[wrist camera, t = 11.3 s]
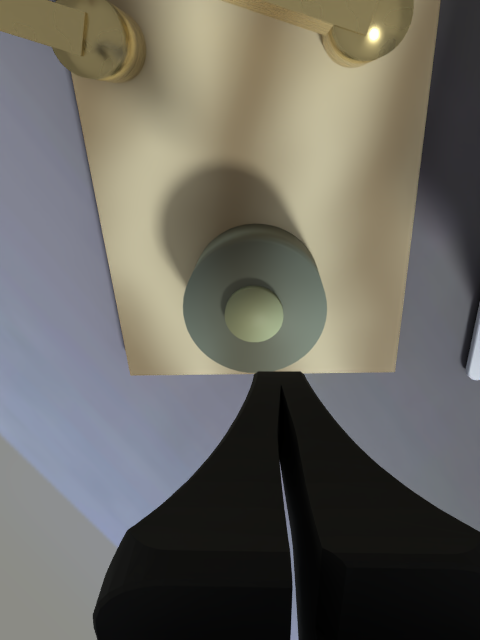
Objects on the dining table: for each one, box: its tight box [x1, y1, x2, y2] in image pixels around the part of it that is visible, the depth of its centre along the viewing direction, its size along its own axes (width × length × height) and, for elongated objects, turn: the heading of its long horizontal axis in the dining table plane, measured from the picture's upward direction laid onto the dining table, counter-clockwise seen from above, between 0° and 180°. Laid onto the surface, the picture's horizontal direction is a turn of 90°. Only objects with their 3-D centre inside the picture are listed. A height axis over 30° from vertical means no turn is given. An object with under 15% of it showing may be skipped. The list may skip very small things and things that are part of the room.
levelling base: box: [71, 0, 441, 375], centre depth 17 cm, size 14×20×5 cm
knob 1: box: [0, 0, 146, 83], centre depth 15 cm, size 2×7×3 cm, turn 75°
